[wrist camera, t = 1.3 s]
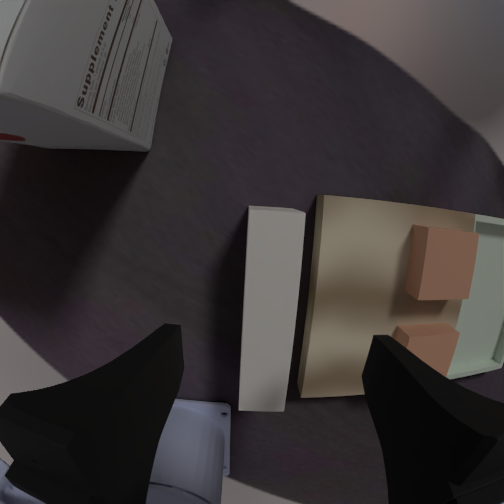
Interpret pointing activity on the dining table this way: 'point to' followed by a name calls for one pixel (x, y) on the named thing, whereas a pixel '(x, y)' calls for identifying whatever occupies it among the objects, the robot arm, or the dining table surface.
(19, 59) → the supplement box
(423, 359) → the tile
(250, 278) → the push bar
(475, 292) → the tray
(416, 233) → the tile
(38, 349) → the dining table surface
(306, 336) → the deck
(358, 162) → the dining table surface
